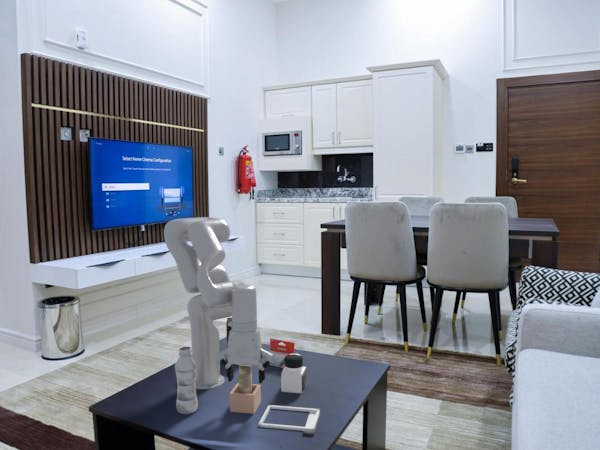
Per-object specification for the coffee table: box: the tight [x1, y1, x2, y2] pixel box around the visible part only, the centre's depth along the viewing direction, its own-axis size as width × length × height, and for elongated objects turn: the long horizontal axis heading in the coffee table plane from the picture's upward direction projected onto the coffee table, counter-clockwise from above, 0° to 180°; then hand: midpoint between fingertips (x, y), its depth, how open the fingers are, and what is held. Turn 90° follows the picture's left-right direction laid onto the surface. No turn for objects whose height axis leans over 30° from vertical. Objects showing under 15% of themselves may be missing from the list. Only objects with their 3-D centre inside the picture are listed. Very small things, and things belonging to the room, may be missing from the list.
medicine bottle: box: [280, 353, 307, 394], centre depth 162 cm, size 7×7×12 cm
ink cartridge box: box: [267, 338, 296, 369], centre depth 184 cm, size 2×11×10 cm, turn 61°
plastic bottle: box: [174, 346, 199, 415], centre depth 146 cm, size 6×7×20 cm
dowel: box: [237, 365, 253, 394], centre depth 149 cm, size 4×4×13 cm
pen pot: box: [229, 382, 262, 415], centre depth 149 cm, size 8×8×6 cm
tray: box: [257, 404, 321, 435], centre depth 142 cm, size 16×12×2 cm
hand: (246, 380), depth 148 cm, fingers open, 9 cm apart
